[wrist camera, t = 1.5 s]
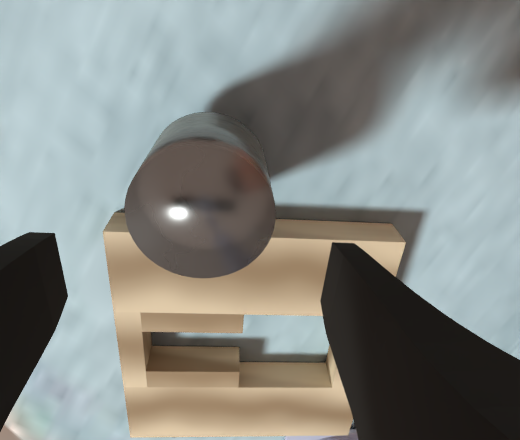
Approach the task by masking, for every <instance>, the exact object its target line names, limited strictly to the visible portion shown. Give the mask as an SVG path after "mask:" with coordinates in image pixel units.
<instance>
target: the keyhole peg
mask: <svg viewBox="0 0 520 440" xmlns="http://www.w3.org/2000/svg"><path fill="white" fill-rule="evenodd" d="M125 219H126V224H127V227H128V230H129V233H130V235H131V237H132V239H133V241H134V242H135V244H136V245H137V247H138V248H139V249H140V250H141V251H142V253H143V254H144V255H145V256H146V257H148V258H149V259H150V260H151V261H152V262H154V263H155V264H157V265H158V266H160V267H162V268H163V269H165V270H167V271H170V272H172V273H175V274H178V275H181V276H186V277H191V278H215V277H221V276H225V275H229V274H231V273H234V272H237V271H239V270H241V269H243V268H244V267H246V266H247V265H249V264H250V263H252V262H253V261H254V260H255V259H256V258H257V257H258V256H259V255H260V254H261V253H262V252H263V251H264V249H265V248H266V246H267V245H268V243H269V241H270V239H271V237H272V234H273V231H274V226H275V221H276V210H275V202H274V198H273V193H272V188H271V183H270V179H269V174H268V169H267V164H266V160H265V156H264V152H263V149H262V147H261V145H260V143H259V141H258V139H257V138H256V137H255V135H254V134H253V133H252V132H251V131H250V130H249V129H248V128H247V127H246V126H245V125H243V124H242V123H241V122H239V121H237V120H236V119H234V118H232V117H229V116H227V115H223V114H220V113H213V112H199V113H193V114H189V115H186V116H184V117H181V118H179V119H177V120H176V121H174V122H173V123H171V124H170V125H169V126H168V127H167V128H166V129H165V130H164V131H163V132H162V133H161V135H160V136H159V138H158V139H157V141H156V142H155V144H154V146H153V147H152V149H151V150H150V152H149V154H148V155H147V157H146V159H145V160H144V162H143V163H142V165H141V167H140V168H139V170H138V172H137V173H136V175H135V176H134V178H133V180H132V182H131V184H130V186H129V188H128V191H127V195H126V199H125Z"/></svg>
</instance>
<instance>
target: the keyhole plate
mask: <svg viewBox="0 0 520 440" xmlns="http://www.w3.org/2000/svg"><path fill="white" fill-rule="evenodd" d="M103 236H104V244H105V251H106V259H107V266H108V274H109V281H110V288H111V296H112V303H113V311H114V318H115V326H116V333H117V341H118V348H119V355H120V363H121V370H122V378H123V385H124V393H125V400H126V407H127V415H128V422H129V430H130V437H231V436H341V435H348V434H349V431H350V427H351V424H352V421H353V416H352V413H351V409H350V406H349V403H348V400H347V397H346V394H345V391H344V388H343V385H342V381H341V378H340V375H339V372H338V369H337V366H336V363H335V360H334V357H333V354H332V350H331V347H330V345H329V349H328V354H327V358H326V363H304V362H239V347H201V346H152V338H151V332H197V333H242V332H243V318H244V314H248V315H302V316H323V314H322V308H321V302H320V300H321V295H322V290H323V285H324V280H325V275H326V270H327V265H328V260H329V255H330V250H331V245H332V242H337V243H355V244H356V245H357V246H359V247H360V248H361V249H363V250H364V251H365V252H366V253H367V254H369V255H370V256H371V257H372V258H373V259H375V260H376V261H377V262H378V263H379V264H381V265H382V266H383V267H384V268H385V269H387V270H388V271H389V272H390V273H391V274H393V275H394V276H395V277H396V274H397V271H398V267H399V264H400V261H401V257H402V254H403V251H404V247H405V244H406V242H405V241H404V239H403V238H402V237H401V235H400V234H399V233H398V231H397V230H396V229H395V227H394V226H393V225H392V224H389V223H365V222H340V221H316V220H291V219H276V221H275V226H274V231H273V234H272V237H271V239H270V241H269V243H268V245H267V246H266V248H265V249H264V251H263V252H262V253H261V254H260V255H259V256H258V257H257V258H256V259H255V260H254V261H253V262H252V263H250V264H249V265H247V266H246V267H244V268H243V269H241V270H239V271H237V272H234V273H231V274H229V275H225V276H221V277H215V278H191V277H186V276H181V275H178V274H175V273H172V272H170V271H167V270H165V269H163V268H162V267H160V266H158V265H157V264H155V263H154V262H152V261H151V260H150V259H149V258H148V257H146V256H145V255H144V254H143V253H142V251H141V250H140V249H139V248H138V247H137V245H136V244H135V242H134V241H133V239H132V237H131V235H130V233H129V230H128V227H127V224H126V219H125V213H119V212H114V214H113V216H112V217H111V219H110V220H109V222H108V224H107V225H106V227H105V229H104V230H103Z"/></svg>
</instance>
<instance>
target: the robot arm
mask: <svg viewBox="0 0 520 440" xmlns="http://www.w3.org/2000/svg"><path fill="white" fill-rule="evenodd" d="M67 297H68V294H67V289H66V284H65V280H64V275H63V270H62V266H61V261H60V256H59V252H58V247H57V242H56V238H55V233H34V232H29V233H27V234H24V235H22V236H20V237H18V238H16V239H14V240H12V241H10V242H8V243H6V244H4V245H2V246H0V431H1V429H2V427H3V425H4V423H5V421H6V419H7V418H8V416H9V414H10V412H11V410H12V408H13V406H14V404H15V403H16V401H17V399H18V397H19V395H20V394H21V392H22V390H23V388H24V386H25V385H26V383H27V381H28V379H29V377H30V376H31V374H32V372H33V370H34V368H35V367H36V365H37V363H38V361H39V359H40V358H41V356H42V354H43V352H44V350H45V348H46V346H47V345H48V343H49V341H50V339H51V337H52V335H53V333H54V331H55V329H56V327H57V324H58V322H59V319H60V317H61V314H62V311H63V308H64V306H65V303H66V300H67ZM320 302H321V308H322V314H323V319H324V325H325V330H326V334H327V338H328V341H329V344H330V347H331V350H332V354H333V357H334V360H335V363H336V366H337V369H338V372H339V375H340V378H341V381H342V385H343V388H344V391H345V394H346V397H347V400H348V403H349V406H350V409H351V413H352V416H353V420H354V423H355V427H356V429H350V431H349V434H348V435H341V436H285V439H284V440H520V360H519V359H517V358H515V357H513V356H511V355H510V354H508V353H506V352H504V351H502V350H501V349H499V348H497V347H495V346H494V345H492V344H490V343H488V342H487V341H485V340H483V339H482V338H480V337H479V336H477V335H476V334H474V333H472V332H471V331H469V330H468V329H466V328H464V327H463V326H461V325H460V324H458V323H457V322H455V321H454V320H452V319H451V318H449V317H448V316H446V315H445V314H443V313H442V312H441V311H439V310H438V309H436V308H435V307H434V306H432V305H431V304H430V303H428V302H427V301H426V300H424V299H423V298H421V297H420V296H419V295H418V294H416V293H415V292H414V291H412V290H411V289H410V288H409V287H407V286H406V285H405V284H404V283H402V282H401V281H400V280H399V279H397V278H396V277H395V276H394V275H393V274H391V273H390V272H389V271H388V270H387V269H385V268H384V267H383V266H382V265H381V264H379V263H378V262H377V261H376V260H375V259H373V258H372V257H371V256H370V255H369V254H367V253H366V252H365V251H364V250H363V249H361V248H360V247H359V246H357V245H356V244H355V243H337V242H332V245H331V250H330V255H329V260H328V265H327V270H326V275H325V280H324V285H323V290H322V295H321V300H320Z"/></svg>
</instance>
